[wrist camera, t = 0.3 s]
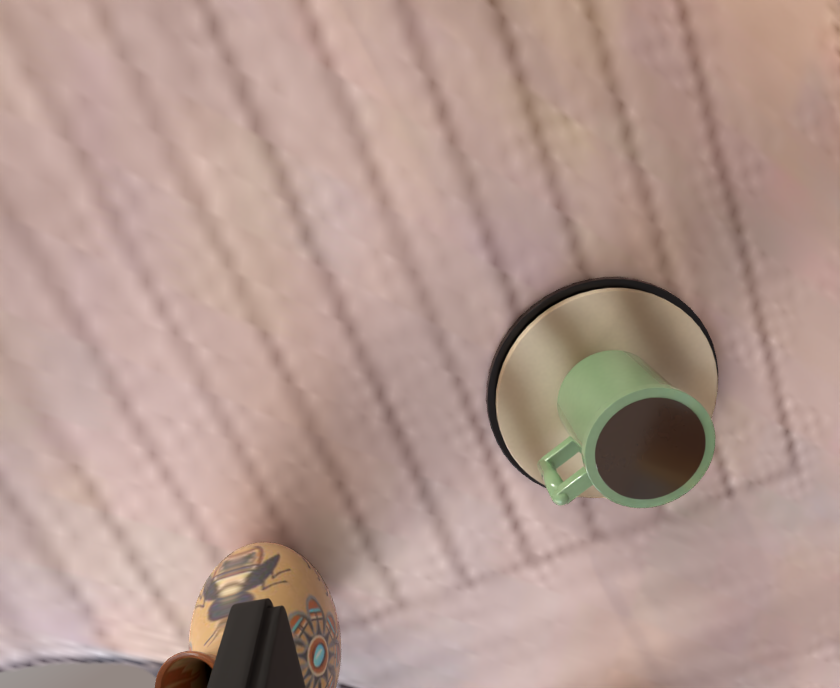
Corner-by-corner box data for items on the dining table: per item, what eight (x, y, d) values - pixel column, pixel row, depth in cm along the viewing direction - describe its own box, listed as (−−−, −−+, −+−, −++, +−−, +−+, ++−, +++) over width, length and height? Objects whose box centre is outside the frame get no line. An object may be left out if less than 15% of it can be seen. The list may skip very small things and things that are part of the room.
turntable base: (469, 302, 46) (470, 304, 46) (708, 255, 46) (712, 257, 46) (503, 511, 51) (505, 516, 51) (719, 469, 51) (723, 473, 51)
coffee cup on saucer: (631, 239, 45) (687, 266, 37) (754, 403, 49) (826, 458, 41) (450, 387, 47) (465, 441, 39) (581, 531, 51) (619, 606, 43)
